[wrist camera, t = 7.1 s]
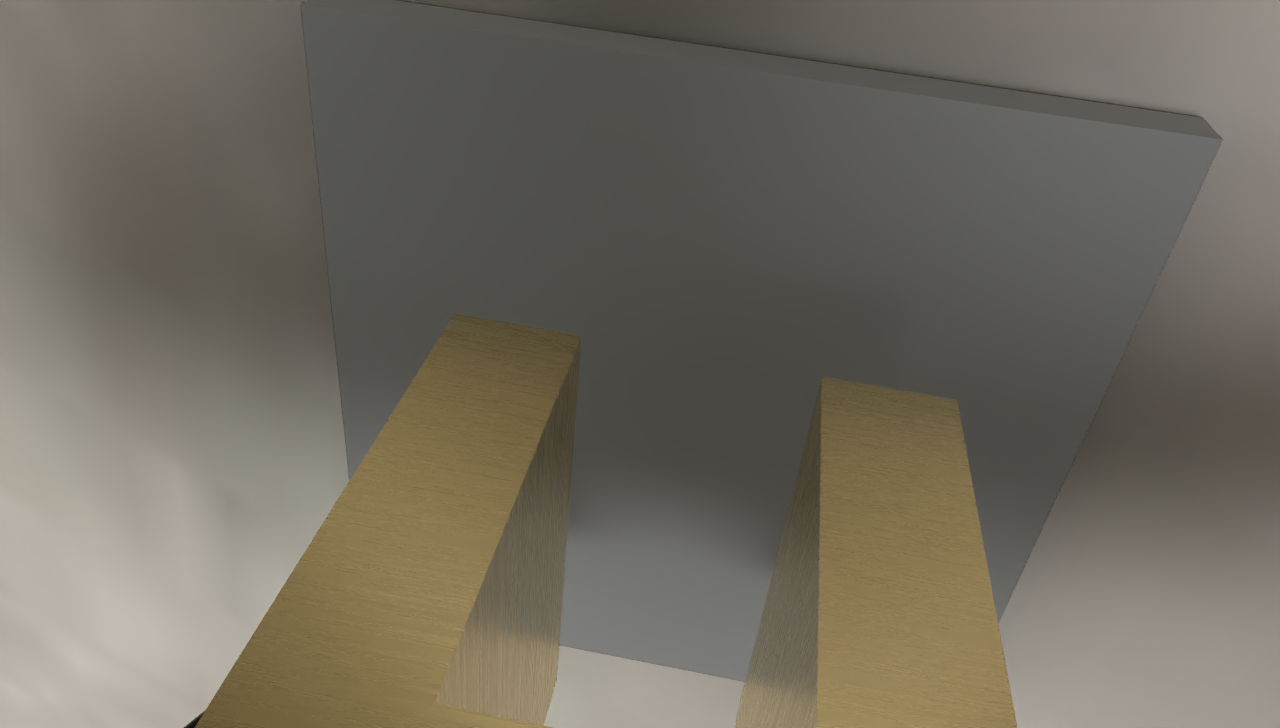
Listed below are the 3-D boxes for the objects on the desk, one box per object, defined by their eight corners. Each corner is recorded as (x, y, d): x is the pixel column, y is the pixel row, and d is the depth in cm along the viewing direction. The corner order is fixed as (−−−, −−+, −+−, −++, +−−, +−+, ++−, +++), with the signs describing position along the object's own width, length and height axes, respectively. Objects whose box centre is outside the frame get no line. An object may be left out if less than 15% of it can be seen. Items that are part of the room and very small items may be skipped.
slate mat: (948, 688, 15) (951, 722, 14) (376, 577, 15) (362, 606, 15) (1201, 117, 9) (1223, 139, 9) (325, -9, 10) (299, 3, 10)
